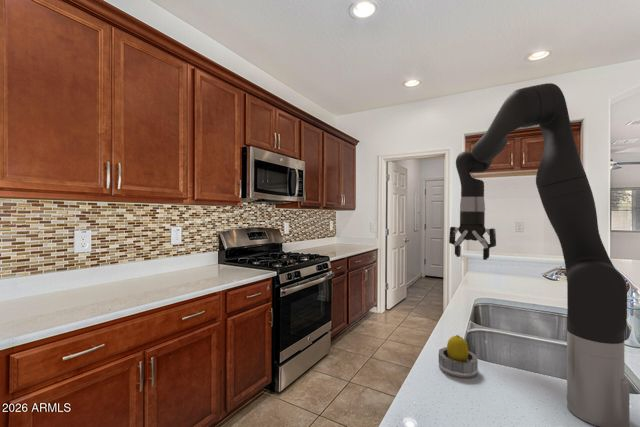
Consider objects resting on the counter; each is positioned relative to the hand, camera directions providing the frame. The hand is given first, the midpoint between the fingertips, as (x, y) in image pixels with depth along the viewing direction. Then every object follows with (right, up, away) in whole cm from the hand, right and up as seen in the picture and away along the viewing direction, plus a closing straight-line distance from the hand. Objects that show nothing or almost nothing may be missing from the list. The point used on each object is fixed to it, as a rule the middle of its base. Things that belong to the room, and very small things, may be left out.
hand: (471, 258), depth 104 cm
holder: (-13, -28, -19) cm, 36 cm away
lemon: (-13, -27, -19) cm, 35 cm away
